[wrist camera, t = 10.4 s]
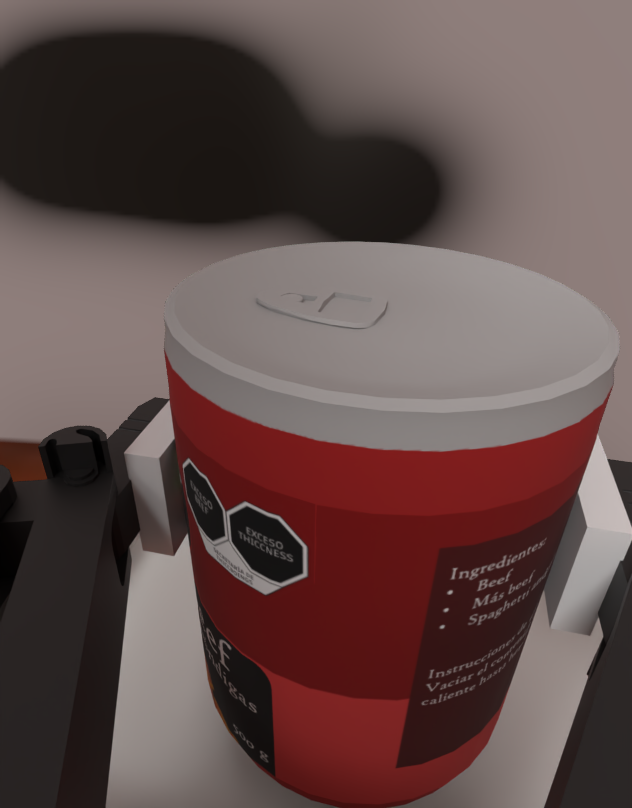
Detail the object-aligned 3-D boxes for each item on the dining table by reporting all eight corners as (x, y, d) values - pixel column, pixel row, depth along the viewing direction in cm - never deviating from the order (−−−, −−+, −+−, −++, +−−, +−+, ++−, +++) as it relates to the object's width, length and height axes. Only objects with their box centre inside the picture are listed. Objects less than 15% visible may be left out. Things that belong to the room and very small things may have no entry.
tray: (-127, 910, 13) (-185, 853, 11) (156, 502, 25) (147, 446, 23) (829, 1237, 10) (937, 1223, 8) (626, 585, 21) (653, 527, 20)
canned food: (232, 558, 19) (207, 233, 14) (467, 570, 19) (543, 245, 13) (175, 814, 13) (81, 395, 7) (532, 835, 13) (734, 422, 7)
